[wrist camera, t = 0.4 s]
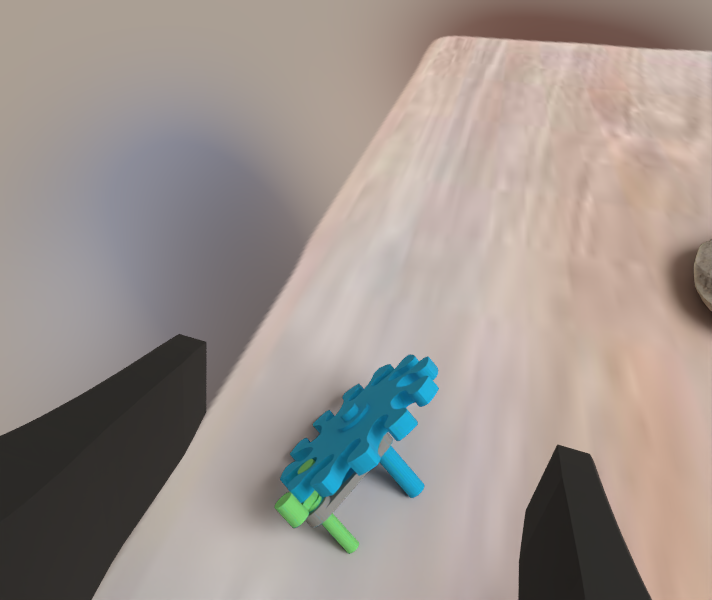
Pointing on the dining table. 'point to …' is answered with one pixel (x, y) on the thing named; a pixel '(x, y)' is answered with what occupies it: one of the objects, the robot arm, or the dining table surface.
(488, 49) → the dining table surface
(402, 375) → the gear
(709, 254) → the fossil
